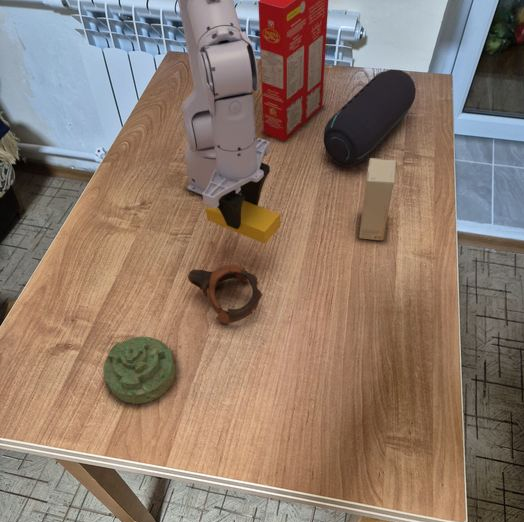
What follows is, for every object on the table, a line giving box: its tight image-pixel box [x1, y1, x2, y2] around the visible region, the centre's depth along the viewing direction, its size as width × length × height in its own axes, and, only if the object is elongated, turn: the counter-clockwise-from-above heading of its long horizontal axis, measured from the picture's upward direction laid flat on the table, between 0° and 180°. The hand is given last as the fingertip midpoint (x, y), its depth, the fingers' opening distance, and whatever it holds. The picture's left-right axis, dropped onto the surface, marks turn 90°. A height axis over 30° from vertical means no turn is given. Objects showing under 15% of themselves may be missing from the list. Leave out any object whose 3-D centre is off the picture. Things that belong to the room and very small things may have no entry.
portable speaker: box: [323, 68, 417, 168], centre depth 102 cm, size 25×10×10 cm, turn 145°
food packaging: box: [257, 0, 329, 142], centre depth 100 cm, size 15×5×25 cm, turn 144°
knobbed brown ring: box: [187, 264, 263, 325], centre depth 81 cm, size 12×10×8 cm
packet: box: [205, 201, 281, 245], centre depth 80 cm, size 11×4×2 cm, turn 58°
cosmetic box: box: [358, 157, 397, 241], centre depth 86 cm, size 6×4×12 cm
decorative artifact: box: [102, 336, 177, 405], centre depth 73 cm, size 10×7×10 cm
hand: (242, 216), depth 80 cm, fingers closed on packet, 4 cm apart
